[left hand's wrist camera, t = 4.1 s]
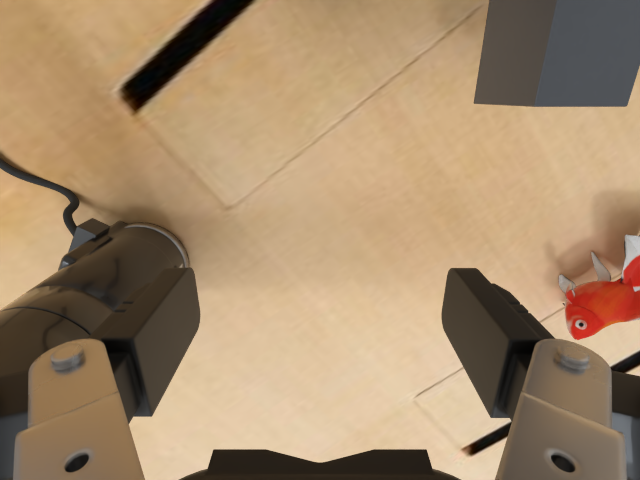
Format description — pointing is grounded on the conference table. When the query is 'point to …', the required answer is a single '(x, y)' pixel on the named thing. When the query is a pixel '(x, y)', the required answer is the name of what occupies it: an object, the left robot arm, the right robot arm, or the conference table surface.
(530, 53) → the bar
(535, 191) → the conference table surface
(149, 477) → the conference table surface
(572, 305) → the fish
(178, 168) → the conference table surface
